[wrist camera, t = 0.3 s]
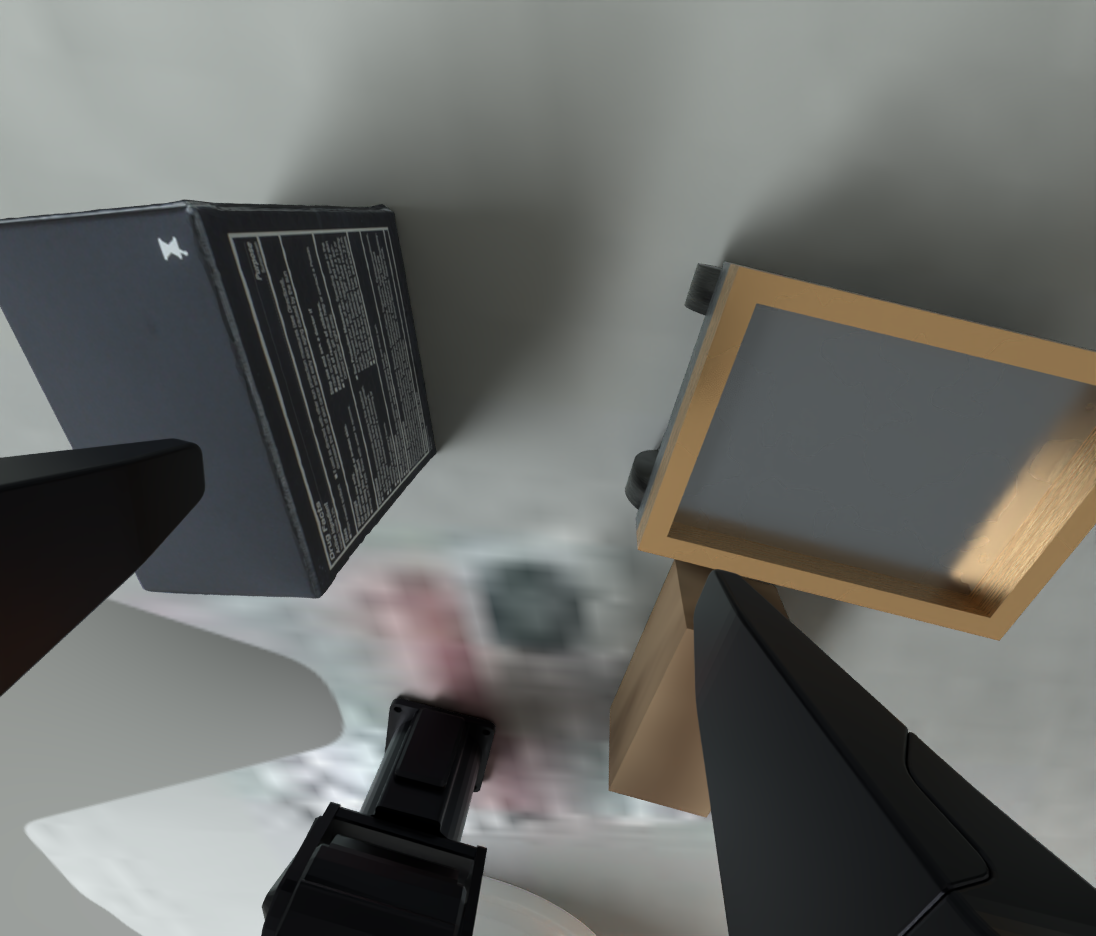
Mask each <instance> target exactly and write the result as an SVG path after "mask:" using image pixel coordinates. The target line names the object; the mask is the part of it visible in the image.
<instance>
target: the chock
mask: <svg viewBox="0 0 1096 936" xmlns="http://www.w3.org/2000/svg"><path fill="white" fill-rule="evenodd" d="M713 570H714V569H711V568H708V567H704V566H700V565H696V564H692V563H688V562H684V561H680V560H676V559H674V562H673V564H672V566H671V569H670V571H669V573H668V575H667V578H666V580H665V582H664V585H663V587H662V589H661V592H660V594H659V596H658V599H657V601H656V603H655V606H654V608H653V610H652V612H651V615H650V617H649V619H648V622H647V624H646V626H645V629H644V631H643V633H642V636H641V638H640V640H639V643H638V645H637V647H636V650H635V652H634V654H633V656H632V659H631V661H630V663H629V666H628V668H627V670H626V673H625V675H624V677H623V680H622V682H621V684H620V687H619V689H618V691H617V693H616V696H615V698H614V700H613V703H612V705H611V707H610V737H609V791H612V792H616V793H619V794H623V795H627V796H630V797H634V798H638V799H641V800H645V801H648V802H652V803H656V804H659V805H663V806H667V807H670V808H674V809H678V810H681V811H685V812H688V813H692V814H696V815H699V816H703V817H707V816H708V814H709V813H710V811H711V807H710V800H709V793H708V786H707V779H706V772H705V765H704V758H703V751H702V744H701V737H700V730H699V723H698V716H697V708H696V697H695V665H694V623H693V618H694V611H695V607H696V604H697V602H698V599H699V597H700V595H701V592H702V590H703V588H704V585H705V583H706V580H707V578H708V576H709V574H710V573H711V571H713ZM742 578H743V579H744V580H745V581H746V582H747V583H748V584H750V585H751V586H752V587H753V588H754V589H755V590H756V591H757V592H758V593H759V594H761V595H762V596H763V597H764V598H765V599H766V600H767V601H768V602H769V603H770V604H772V605H773V606H774V607H775V608H776V609H777V610H778V611H779V612H780V613H781V614H783V615H784V616H785V617H786V618H787V619H788V620H789V617H788V615H787V613H786V610H785V608H784V606H783V604H782V601H781V599H780V597H779V594H778V592H777V590H776V587H775V586H774V585H770V584H767V583H763V582H759V581H755V580H752V579H748V578H744V577H742ZM789 621H790V620H789Z"/></svg>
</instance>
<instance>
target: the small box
mask: <svg viewBox="0 0 1096 936" xmlns="http://www.w3.org/2000/svg"><path fill="white" fill-rule="evenodd" d="M0 307H1V309H2V311H3V313H4V315H5V317H6V319H7V321H8V323H9V325H10V327H11V329H12V330H13V332H14V334H15V336H16V338H17V340H18V342H19V344H20V346H21V348H22V350H23V352H24V354H25V356H26V358H27V360H28V362H29V364H30V366H31V368H32V370H33V372H34V374H35V376H36V378H37V380H38V382H39V384H40V386H41V388H42V390H43V392H44V393H45V395H46V397H47V399H48V401H49V403H50V405H51V407H52V409H53V411H54V413H55V415H56V417H57V419H58V421H59V423H60V425H61V427H62V429H63V431H64V433H65V435H66V437H67V439H68V441H69V442H70V444H71V446H72V448H73V449H81V448H90V447H99V446H108V445H116V444H125V443H134V442H143V441H151V440H160V439H169V438H175V439H180V440H184V441H188V442H193V443H195V444H197V445H198V446H199V447H200V448H201V450H202V453H203V463H204V474H205V484H206V487H205V492H204V495H203V497H202V499H201V500H200V501H199V503H198V504H197V505H196V506H195V507H194V508H193V509H192V510H191V511H190V513H189V514H188V515H187V516H186V517H185V518H184V519H183V520H182V522H181V523H180V524H179V525H178V526H177V527H176V528H175V529H174V531H173V532H172V533H171V534H170V535H169V536H168V537H167V538H166V540H165V541H164V542H163V543H162V544H161V545H160V546H159V547H158V549H157V550H156V551H155V552H154V553H153V554H152V555H151V556H150V557H149V558H148V559H147V561H146V562H145V563H144V564H143V565H142V566H141V567H140V568H139V569H138V570H137V571H136V572H135V573H136V575H137V577H138V580H139V582H140V584H141V586H142V588H143V589H144V590H147V591H151V592H163V593H183V594H204V595H210V594H211V595H240V596H266V597H301V598H320V597H321V596H322V595H323V594H324V593H325V592H326V590H327V589H328V588H329V586H330V585H331V584H332V582H333V581H334V579H335V577H336V575H337V573H338V572H339V571H340V570H341V569H342V567H343V566H344V565H345V563H346V562H347V561H348V559H349V557H350V556H351V555H352V554H353V552H354V551H355V550H356V549H357V547H358V546H359V544H361V543H362V542H363V540H364V538H365V536H366V535H367V534H369V533H370V532H371V530H372V529H373V527H374V526H375V525H377V524H378V522H379V521H380V519H381V518H382V517H383V516H384V514H385V513H386V512H387V511H388V509H389V508H390V507H391V506H392V505H393V503H394V502H395V501H396V499H397V498H398V497H399V496H400V495H401V494H402V492H403V491H404V490H405V488H406V487H407V486H408V485H409V484H410V483H411V482H412V480H413V479H414V478H415V476H416V475H417V474H418V473H419V472H420V470H422V468H423V467H424V466H425V465H426V464H427V462H428V461H429V460H430V459H431V458H432V457H433V456H434V455H435V454H436V449H435V444H434V438H433V432H432V425H431V419H430V413H429V408H428V403H427V397H426V391H425V383H424V380H423V374H422V368H421V362H420V357H419V352H418V346H417V339H416V334H415V328H414V322H413V317H412V311H411V306H410V299H409V294H408V288H407V283H406V277H405V271H404V266H403V260H402V255H401V250H400V245H399V239H398V234H397V229H396V223H395V215H394V212H392V211H391V210H390V209H389V208H387V207H386V206H384V205H383V204H380V205H376V206H373V207H370V208H369V207H338V206H317V205H315V206H305V205H278V204H234V203H210V202H202V201H194V200H180V201H176V202H170V203H164V204H151V205H143V206H133V207H122V208H112V209H98V210H91V211H84V212H76V213H65V214H51V215H39V216H28V217H21V218H6V219H0Z"/></svg>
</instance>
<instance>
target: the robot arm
mask: <svg viewBox="0 0 1096 936" xmlns="http://www.w3.org/2000/svg"><path fill="white" fill-rule="evenodd" d="M205 487H206V484H205V474H204V463H203V453H202V450H201V448H200V447H199V446H198V445H197V444H195V443H193V442H188V441H184V440H180V439H175V438H169V439H160V440H151V441H143V442H134V443H125V444H116V445H108V446H99V447H90V448H81V449H73V450H64V451H55V452H47V453H38V454H29V455H20V456H12V457H3V458H0V697H1V696H2V695H3V694H4V693H5V692H6V691H7V690H8V689H9V688H10V687H12V686H13V685H14V684H15V683H16V682H17V681H18V680H19V679H20V678H21V677H22V676H23V675H25V674H26V673H27V672H28V671H29V670H30V669H31V668H32V667H33V666H34V665H35V664H36V663H37V662H39V661H40V660H41V659H42V658H43V657H44V656H45V655H46V654H47V653H48V652H49V651H50V650H51V649H53V648H54V647H55V646H56V645H57V644H58V643H59V642H60V641H61V640H62V639H63V638H64V637H66V635H68V634H69V633H70V632H71V631H72V630H73V629H74V628H75V627H76V626H77V625H79V623H81V622H82V621H83V620H84V619H85V618H86V617H87V616H88V615H89V614H90V613H91V612H93V611H94V610H95V609H96V608H97V607H98V606H99V605H100V604H101V603H102V602H103V601H105V600H106V599H107V598H108V597H109V596H110V595H111V594H112V593H113V592H114V591H115V590H116V589H118V588H119V587H120V586H121V585H122V584H123V583H124V582H125V581H126V580H127V579H128V578H129V577H130V576H132V575H133V574H134V573H135V572H136V571H137V570H138V569H139V568H140V567H141V566H142V565H143V564H144V563H145V562H146V561H147V559H148V558H149V557H150V556H151V555H152V554H153V553H154V552H155V551H156V550H157V549H158V547H159V546H160V545H161V544H162V543H163V542H164V541H165V540H166V538H167V537H168V536H169V535H170V534H171V533H172V532H173V531H174V529H175V528H176V527H177V526H178V525H179V524H180V523H181V522H182V520H183V519H184V518H185V517H186V516H187V515H188V514H189V513H190V511H191V510H192V509H193V508H194V507H195V506H196V505H197V504H198V503H199V501H200V500H201V499H202V497H203V495H204V492H205ZM693 623H694V665H695V697H696V708H697V716H698V723H699V730H700V737H701V744H702V751H703V758H704V765H705V772H706V779H707V786H708V793H709V800H710V807H711V814H712V821H713V828H714V835H715V842H716V849H717V856H718V863H719V870H720V877H721V884H722V890H723V897H724V904H725V911H726V918H727V925H728V932H729V936H1096V888H1094V887H1093V886H1092V885H1091V884H1089V883H1088V882H1087V881H1086V880H1085V879H1083V878H1082V877H1081V876H1080V875H1079V874H1077V873H1076V872H1075V871H1074V870H1072V869H1071V868H1070V867H1069V866H1068V865H1066V864H1065V863H1064V862H1063V861H1062V860H1060V859H1059V858H1058V857H1057V856H1056V855H1054V854H1053V853H1052V852H1051V851H1049V850H1048V849H1047V848H1046V847H1045V846H1043V845H1042V844H1041V843H1040V842H1039V841H1037V840H1036V839H1035V838H1034V837H1032V836H1031V835H1030V834H1029V833H1028V832H1026V831H1025V830H1024V829H1023V828H1022V827H1020V826H1019V825H1018V824H1017V823H1016V822H1015V821H1013V820H1012V819H1011V818H1010V817H1009V816H1007V815H1006V814H1005V813H1004V812H1003V811H1001V810H1000V809H999V808H998V807H997V806H996V805H994V804H993V803H992V802H991V801H990V800H988V799H987V798H986V797H985V796H984V795H982V794H981V793H980V792H979V791H978V790H977V789H975V788H974V787H973V786H972V785H971V784H970V783H969V782H967V781H966V780H965V779H964V778H963V777H962V776H961V775H960V774H958V773H957V772H956V771H955V770H954V769H953V768H952V767H950V766H949V765H948V764H947V763H946V762H945V761H944V760H943V759H941V758H940V757H939V756H938V755H937V754H936V753H935V752H934V751H933V750H931V749H930V748H929V747H928V746H927V745H926V744H925V743H924V742H923V741H922V740H921V739H919V738H918V737H917V736H916V735H915V734H914V733H912V732H909V733H908V729H907V727H906V726H905V725H904V724H903V723H902V722H901V721H899V720H898V719H897V718H896V717H895V716H894V715H893V714H892V713H891V712H889V711H888V710H887V709H886V708H885V707H884V706H883V705H882V704H881V703H880V702H878V701H877V700H876V699H875V698H874V697H873V696H872V695H871V694H870V693H869V692H867V691H866V690H865V689H864V688H863V687H862V686H861V685H860V684H859V683H858V682H856V681H855V680H854V679H853V678H852V677H851V676H850V675H849V674H848V673H846V672H845V671H844V670H843V669H842V668H841V667H840V666H839V665H838V664H837V663H835V662H834V661H833V660H832V659H831V658H830V657H829V656H828V655H827V654H826V653H824V652H823V651H822V650H821V649H820V648H819V647H818V646H817V645H816V644H815V643H813V642H812V641H811V640H810V639H809V638H808V637H807V636H806V635H805V634H803V633H802V632H801V631H800V630H799V629H798V628H797V627H796V626H795V625H794V624H792V623H791V622H790V621H789V620H788V619H787V618H786V617H785V616H784V615H783V614H781V613H780V612H779V611H778V610H777V609H776V608H775V607H774V606H773V605H772V604H770V603H769V602H768V601H767V600H766V599H765V598H764V597H763V596H762V595H761V594H759V593H758V592H757V591H756V590H755V589H754V588H753V587H752V586H751V585H750V584H748V583H747V582H746V581H745V580H744V579H743V578H742V577H741V576H740V575H738V574H736V573H733V572H728V571H724V570H720V569H714V570H713V571H711V573H710V574H709V576H708V578H707V580H706V583H705V585H704V588H703V590H702V592H701V595H700V597H699V599H698V602H697V604H696V607H695V611H694V618H693ZM495 729H496V726H495V725H494V724H493V723H492V722H490V721H486V720H482V719H478V718H474V717H471V716H467V715H463V714H459V713H455V712H451V711H447V710H443V709H439V708H436V707H432V706H428V705H424V704H420V703H416V702H412V701H408V700H405V699H400V698H397V699H394V700H393V702H392V704H391V706H390V711H389V720H388V729H387V738H386V747H385V755H384V758H383V760H382V762H381V764H380V767H379V769H378V771H377V774H376V776H375V778H374V780H373V783H372V785H371V787H370V790H369V792H368V794H367V796H366V799H365V801H364V803H363V806H362V808H361V810H360V812H357V811H353V810H350V809H347V808H343V807H341V805H340V804H337V803H334V802H330V804H329V806H328V807H327V809H326V811H325V812H324V814H323V816H319V817H318V818H315V820H314V822H313V824H312V826H311V828H310V830H309V832H308V834H307V836H306V838H305V840H304V842H303V844H302V846H301V847H300V849H299V851H298V852H297V854H296V855H295V857H294V858H293V860H292V861H291V862H290V864H289V865H288V866H287V868H286V869H285V870H284V872H283V873H282V874H281V876H280V877H279V878H278V880H277V881H276V883H275V884H274V885H273V887H272V888H271V889H270V891H269V892H268V894H267V895H266V897H265V900H264V902H263V905H262V910H263V914H264V918H265V922H264V925H263V929H262V935H261V936H472V935H473V930H474V924H475V918H476V912H477V906H478V900H479V894H480V888H481V882H482V876H483V870H484V864H485V858H486V852H487V848H485V847H482V846H478V845H477V847H474V846H471V845H468V844H464V843H461V842H460V841H461V837H462V833H463V829H464V825H465V821H466V817H467V814H468V810H469V806H470V802H471V798H472V794H473V792H478V791H479V790H480V788H481V784H482V780H483V777H484V773H485V769H486V765H487V761H488V757H489V753H490V749H491V745H492V741H493V737H494V733H495Z"/></svg>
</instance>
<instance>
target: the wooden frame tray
mask: <svg viewBox="0 0 1096 936" xmlns="http://www.w3.org/2000/svg"><path fill="white" fill-rule="evenodd" d="M685 306H686V307H687V308H689V309H691V310H693V311H695V312H698V313H700V314H703V315H705V318H704V321H703V324H702V327H701V330H700V333H699V336H698V339H697V342H696V345H695V347H694V350H693V353H692V356H691V359H690V362H689V365H688V368H687V371H686V374H685V377H684V379H683V382H682V385H681V388H680V391H679V394H678V397H677V400H676V403H675V406H674V409H673V411H672V414H671V417H670V420H669V423H668V426H667V429H666V432H665V435H664V438H663V440H662V443H661V446H660V449H659V450H648V451H643V452H641V453H639V454H637V456H636V457H635V460H634V463H633V466H632V469H631V472H630V475H629V478H628V481H627V484H626V487H625V493H626V496H627V498H628V500H629V501H630V502H631V503H632V504H633V505H634V506H635V507H636V508H637V509H638V513H637V516H636V529H637V545H638V550H640V551H644V552H648V553H652V554H656V555H660V556H664V557H668V558H672V559H676V560H680V561H684V562H688V563H692V564H696V565H700V566H704V567H708V568H712V569H720V570H724V571H728V572H733V573H736V574H738V575H740V576H744V577H748V578H752V579H756V580H760V581H764V582H768V583H772V584H776V585H780V586H784V587H788V588H792V589H796V590H800V591H804V592H808V593H812V594H816V595H820V596H824V597H828V598H832V599H836V600H839V601H843V602H847V603H851V604H855V605H859V606H863V607H867V608H871V609H875V610H879V611H883V612H887V613H891V614H895V615H899V616H903V617H907V618H911V619H915V620H919V621H923V622H927V623H931V624H935V625H939V626H943V627H947V628H951V629H955V630H959V631H963V632H967V633H971V634H975V635H979V636H983V637H987V638H991V639H995V640H999V641H1000V639H1001V638H1002V637H1003V636H1004V634H1005V633H1006V632H1007V631H1008V630H1009V628H1010V627H1011V626H1012V625H1013V624H1014V622H1015V621H1016V620H1017V619H1018V617H1019V616H1020V615H1021V614H1022V613H1023V611H1024V610H1025V609H1026V608H1027V607H1028V605H1029V604H1030V603H1031V602H1032V600H1033V599H1034V598H1035V597H1036V596H1037V594H1038V593H1039V592H1040V591H1041V590H1042V588H1043V587H1044V586H1045V585H1046V583H1047V582H1048V581H1049V580H1050V579H1051V577H1052V576H1053V575H1054V574H1055V573H1056V571H1057V570H1058V569H1059V568H1060V566H1061V565H1062V564H1063V563H1064V562H1065V560H1066V559H1067V558H1068V557H1069V556H1070V554H1071V553H1072V552H1073V551H1074V549H1075V548H1076V547H1077V546H1078V545H1079V543H1080V542H1081V541H1082V540H1083V539H1084V537H1085V536H1086V535H1087V534H1088V532H1089V531H1090V530H1091V529H1092V528H1093V526H1094V525H1095V524H1096V351H1095V350H1091V349H1086V348H1082V347H1078V346H1074V345H1070V344H1066V343H1062V342H1057V341H1053V340H1049V339H1045V338H1041V337H1037V336H1033V335H1028V334H1024V333H1020V332H1016V331H1012V330H1008V329H1004V328H999V327H995V326H991V325H987V324H983V323H979V322H975V321H970V320H966V319H962V318H958V317H954V316H950V315H946V314H941V313H937V312H933V311H929V310H925V309H921V308H917V307H912V306H908V305H904V304H900V303H896V302H892V301H888V300H883V299H879V298H875V297H871V296H867V295H863V294H859V293H854V292H850V291H846V290H842V289H838V288H834V287H830V286H825V285H821V284H817V283H813V282H809V281H805V280H801V279H796V278H792V277H788V276H784V275H780V274H776V273H772V272H767V271H763V270H759V269H755V268H751V267H747V266H743V265H738V264H734V263H730V262H726V261H724V263H723V266H722V268H720V267H716V266H711V265H706V264H700V263H698V265H697V268H696V271H695V274H694V277H693V280H692V283H691V286H690V289H689V292H688V296H687V299H686V302H685Z"/></svg>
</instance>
